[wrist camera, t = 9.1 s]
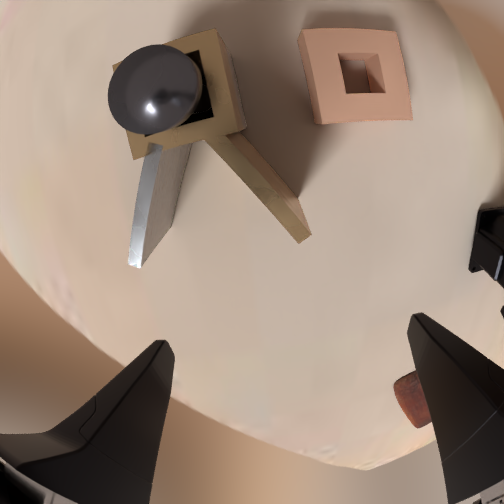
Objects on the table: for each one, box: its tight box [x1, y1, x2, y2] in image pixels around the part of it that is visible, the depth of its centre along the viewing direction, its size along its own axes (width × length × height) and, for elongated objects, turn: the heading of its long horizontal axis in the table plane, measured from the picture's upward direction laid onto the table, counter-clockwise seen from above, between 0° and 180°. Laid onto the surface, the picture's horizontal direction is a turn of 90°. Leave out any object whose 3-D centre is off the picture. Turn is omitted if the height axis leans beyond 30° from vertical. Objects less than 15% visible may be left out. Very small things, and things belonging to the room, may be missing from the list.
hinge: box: [113, 28, 312, 268], centre depth 14 cm, size 10×11×6 cm
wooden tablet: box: [394, 371, 432, 428], centre depth 32 cm, size 27×10×2 cm, turn 34°
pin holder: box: [297, 28, 413, 124], centre depth 13 cm, size 6×6×2 cm
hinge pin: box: [108, 45, 212, 135], centre depth 12 cm, size 4×4×8 cm
